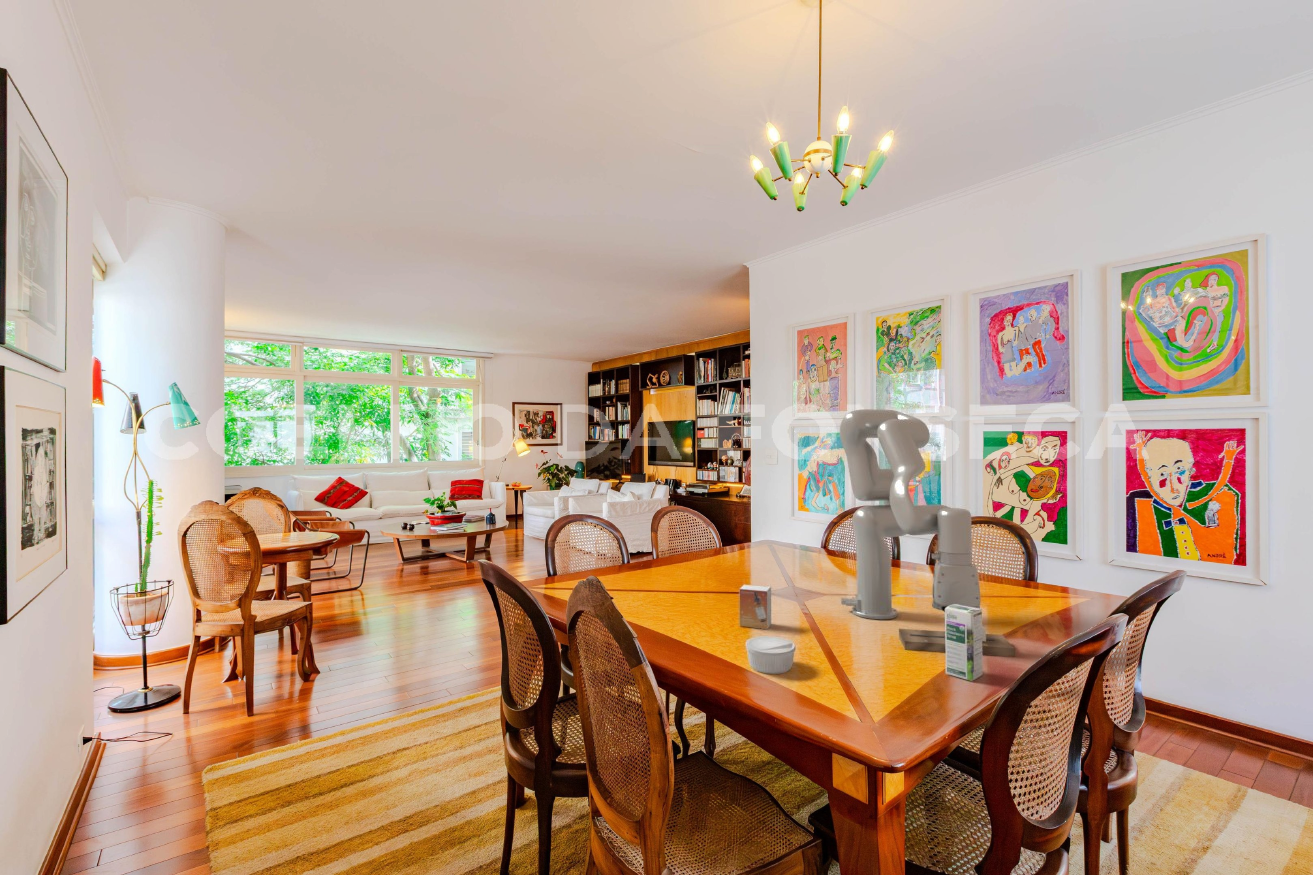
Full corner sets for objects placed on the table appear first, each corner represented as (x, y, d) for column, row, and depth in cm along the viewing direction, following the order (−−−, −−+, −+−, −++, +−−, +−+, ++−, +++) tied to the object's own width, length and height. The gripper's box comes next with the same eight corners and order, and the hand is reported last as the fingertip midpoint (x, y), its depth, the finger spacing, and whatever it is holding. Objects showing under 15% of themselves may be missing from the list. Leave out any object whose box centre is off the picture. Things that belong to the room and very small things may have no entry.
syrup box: (944, 674, 130) (943, 607, 130) (956, 667, 134) (955, 602, 134) (972, 682, 126) (970, 612, 126) (983, 674, 130) (982, 607, 130)
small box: (738, 626, 166) (738, 588, 166) (743, 620, 171) (743, 583, 171) (767, 629, 163) (767, 590, 163) (771, 623, 168) (771, 586, 168)
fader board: (904, 649, 146) (904, 640, 146) (898, 636, 156) (898, 628, 156) (1015, 656, 140) (1014, 647, 140) (1001, 642, 150) (1001, 634, 150)
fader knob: (967, 640, 145) (967, 627, 145) (962, 633, 150) (962, 621, 150) (986, 641, 144) (985, 628, 144) (980, 634, 149) (980, 622, 149)
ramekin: (785, 680, 128) (785, 655, 128) (737, 670, 134) (737, 646, 134) (802, 663, 138) (802, 640, 138) (757, 654, 144) (756, 632, 144)
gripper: (924, 560, 146) (926, 636, 146) (993, 562, 142) (994, 640, 142) (919, 555, 153) (921, 626, 153) (984, 557, 149) (985, 630, 149)
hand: (956, 633), depth 148 cm, fingers closed
